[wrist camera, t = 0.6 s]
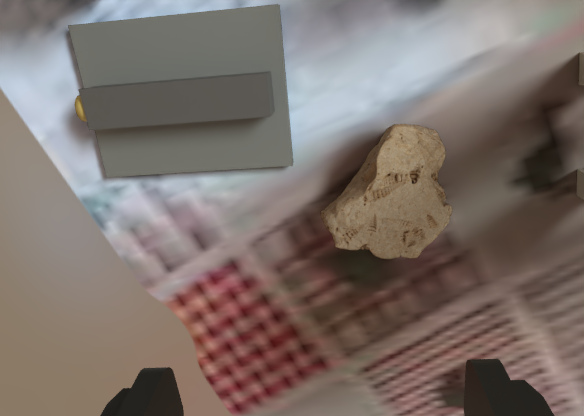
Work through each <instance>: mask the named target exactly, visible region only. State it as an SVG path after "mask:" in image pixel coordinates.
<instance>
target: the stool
mask: <svg viewBox="0 0 584 416" xmlns="http://www.w3.org/2000/svg"><path fill="white" fill-rule="evenodd" d="M579 85H583V86H584V52H581V53H580V56H579ZM577 196H578V197H579V198H581V199H583V200H584V168H582V169H577Z"/></svg>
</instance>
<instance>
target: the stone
mask: <svg viewBox="0 0 584 416" xmlns="http://www.w3.org/2000/svg"><path fill="white" fill-rule="evenodd" d="M445 156H446V153H445V147H444V145H443V144H442V141H441V139H440V137H439V135H438V133H437V132H436V131H435V130H433V129H429V128H425V127H422V126H418V125H407V124H394V125H393V126H391V127H389V128H388V129H387V130H386V131H385V133H384V135H383V136H382V137H381V140H380V142H379V143H378V144H377V145H376V146H375V147H374V148H373V149H372V150H371V151H370V153H369V154H368V156H367V158H366V160H365V162H364V163H363V164H362V167H361V169H360V170H359V171H358V173H357V174H356V175H355V176H354V177H353V179H352V180H351V182H350V183H349V184H348V186H347V187H346V188H345V190H344V191H343V193H342V194H341V195H340V196H339V197H338V198H337V199H336V200H335V201H333V202H331V203H330V204H329V206H328V207H326V208H325V209H324V210H323V211H321V218H322V219H323V223H324V225H325V226H326V228H327V229H328V230H329V231H330V233H331V234H332V236H333V240H334V242H335V247H337V248H341V249H348V250H358V249H362V250H363V249H364V248H365V249H367V250H368V249H369V250H370V251H371V252H372V254H373V255H375V256H377V257H379V258H383V259H392V258H397V257H400V256H402V257H406V258H410V259H412V258H417V257H418V256H419V255H420V253H421V252H422V250H423V249H424V248H425V247H426V246H427V245H428V244H430V243H431V242H432V241H434V240H435V239H436V237H437V236H438V235H439V234H440V233H441V232H442V230H443V229H444V228H445V227H446V226H447V224H448V223H449V220H450V216H451V214H452V207H451V206H450V205H449V204H445V199H446V195H445V192H444V191H443V188H442V187H441V186H440V185H439V184H438V182H437V180H438V179H437V177H438V171H439V170H440V167H441V166H442V164H443V162H444V159H445Z"/></svg>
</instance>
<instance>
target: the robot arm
mask: <svg viewBox="0 0 584 416" xmlns="http://www.w3.org/2000/svg"><path fill="white" fill-rule="evenodd" d="M464 414H465V416H554V414H553V413H552V411H551V409H550V408H549V406H548V404H547V402H546V401H545V399H544V397H543V396H542V395H541V394H540V393H539V392H537V391H536V390H535V389H534V388H533V387H532V386H531V385H529V384H528V383H527V382H526V381H525V380H510V378H509V376H508V374H507V372H506V370H505V369H504V367H503V365H502V363H501V362H500V360H498V359H478V360H467V362H466V372H465V388H464ZM101 416H184V413H183V405H182V402H181V398H180V394H179V391H178V387H177V383H176V380H175V376H174V373H173V370H172V369H171V368H169V367H168V368H144V369H142V370H141V371H140V373H139V374H138V376H137V378H136V380H135V382H134V384H133V386H132V387H131V388H126V389H125V388H124V389H122V390H121V391H120V392H119V393H118V394H117V395H116V396H115V397H114V398H113V399H112V400H111V401H110V402H109V403H108V404H107V405H106V407H105V409H104V410H103V412H102V414H101Z"/></svg>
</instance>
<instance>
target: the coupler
mask: <svg viewBox="0 0 584 416" xmlns="http://www.w3.org/2000/svg"><path fill="white" fill-rule="evenodd" d="M68 28H69V32H70V36H71V40H72V43H73V47H74V51H75V55H76V59H77V63H78V67H79V71H80V75H81V78H82V82H83V86H84V89H79V93H80V95H79V96H77V98H76V100H75V109H76V113H77V115H78V117H79V118H80V119H81V120H82V121H84V122H86V121H87V124H88V127H89V130H95V133H96V137H97V141H98V145H99V149H100V152H101V156H102V160H103V164H104V168H105V172H106V176H107V177H121V176H137V175H152V174H168V173H184V172H200V171H216V170H232V169H248V168H264V167H280V166H292V165H293V153H292V142H291V130H290V119H289V108H288V96H287V85H286V73H285V62H284V50H283V39H282V27H281V16H280V5H279V4H276V5H266V6H256V7H246V8H236V9H226V10H217V11H207V12H197V13H187V14H177V15H167V16H157V17H147V18H138V19H128V20H118V21H108V22H98V23H88V24H78V25H68Z"/></svg>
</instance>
